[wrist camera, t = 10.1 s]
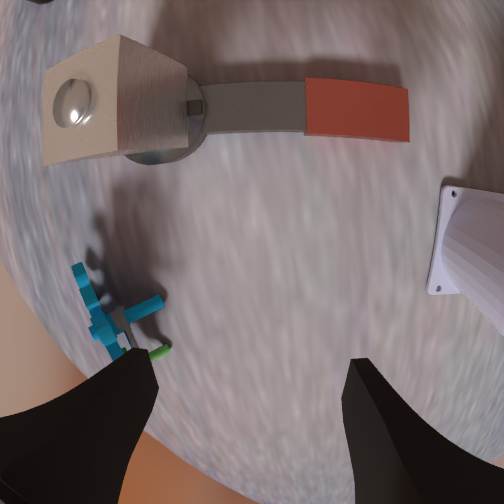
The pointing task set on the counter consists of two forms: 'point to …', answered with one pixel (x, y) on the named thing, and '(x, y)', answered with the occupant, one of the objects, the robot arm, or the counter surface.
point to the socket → (113, 103)
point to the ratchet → (290, 112)
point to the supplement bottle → (40, 1)
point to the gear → (115, 318)
